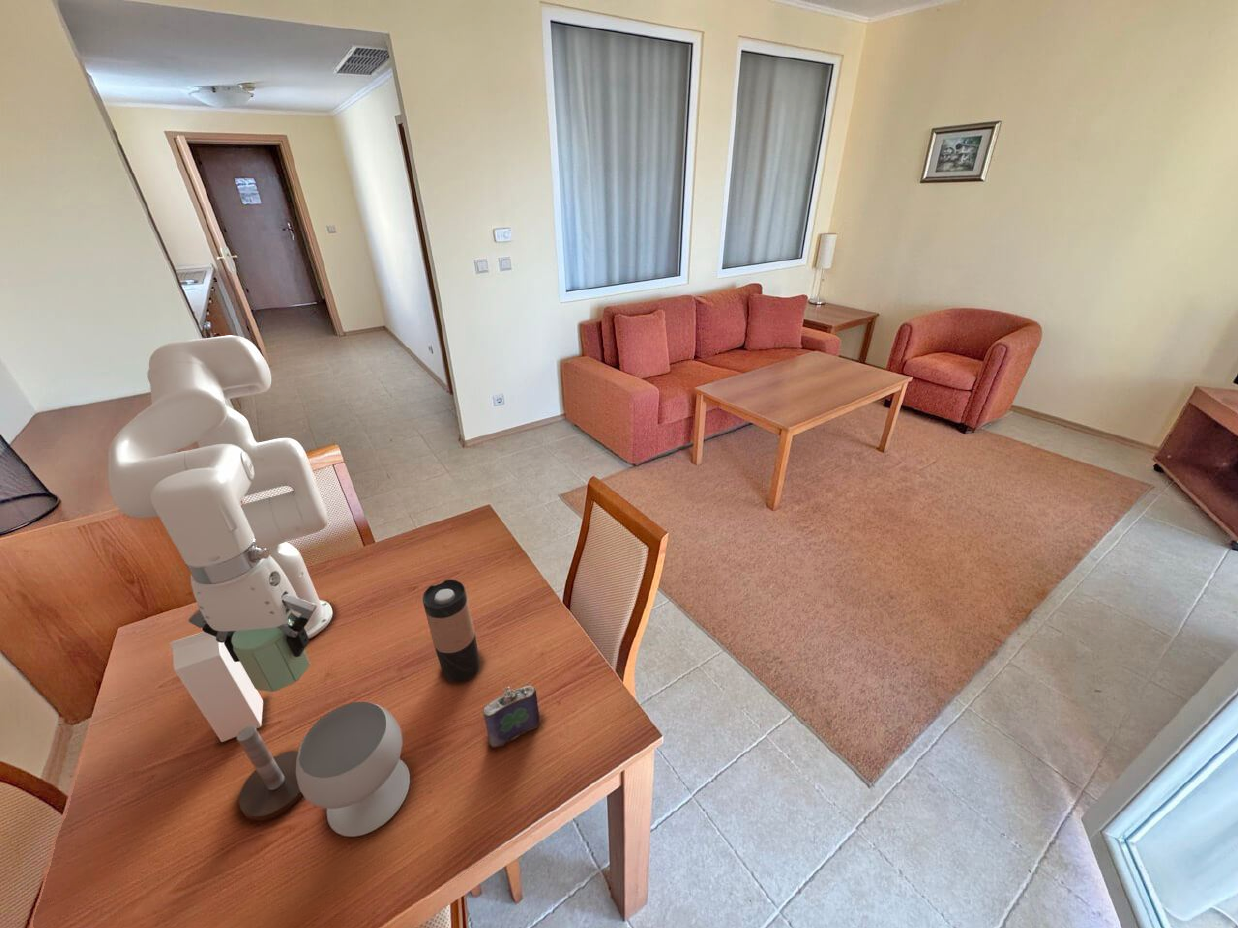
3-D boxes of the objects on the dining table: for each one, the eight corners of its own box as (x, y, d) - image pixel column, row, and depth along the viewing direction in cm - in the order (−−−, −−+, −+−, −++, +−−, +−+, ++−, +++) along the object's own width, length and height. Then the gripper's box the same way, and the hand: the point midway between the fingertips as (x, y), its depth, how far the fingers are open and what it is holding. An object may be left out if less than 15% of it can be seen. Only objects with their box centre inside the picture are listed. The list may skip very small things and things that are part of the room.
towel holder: (246, 771, 82) (212, 718, 75) (314, 745, 86) (287, 692, 79) (236, 832, 74) (196, 780, 68) (311, 801, 78) (281, 747, 71)
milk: (261, 727, 89) (212, 641, 78) (220, 743, 87) (164, 657, 76) (263, 700, 94) (217, 616, 83) (225, 715, 91) (172, 630, 80)
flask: (492, 751, 85) (483, 711, 80) (487, 736, 87) (478, 697, 82) (542, 724, 89) (537, 685, 84) (536, 712, 91) (530, 672, 86)
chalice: (413, 827, 75) (390, 769, 67) (310, 858, 71) (274, 802, 64) (418, 740, 86) (399, 684, 79) (330, 764, 83) (302, 707, 76)
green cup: (253, 666, 76) (230, 624, 72) (305, 644, 80) (287, 603, 75) (256, 700, 71) (231, 657, 67) (311, 675, 75) (292, 633, 70)
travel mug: (470, 686, 96) (452, 611, 86) (434, 680, 97) (413, 605, 88) (487, 655, 102) (472, 581, 93) (453, 649, 104) (435, 576, 94)
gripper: (308, 537, 69) (343, 627, 77) (174, 545, 67) (225, 636, 76) (281, 573, 62) (323, 667, 71) (133, 583, 61) (194, 678, 69)
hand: (272, 650), depth 73 cm, fingers closed on green cup, 7 cm apart
